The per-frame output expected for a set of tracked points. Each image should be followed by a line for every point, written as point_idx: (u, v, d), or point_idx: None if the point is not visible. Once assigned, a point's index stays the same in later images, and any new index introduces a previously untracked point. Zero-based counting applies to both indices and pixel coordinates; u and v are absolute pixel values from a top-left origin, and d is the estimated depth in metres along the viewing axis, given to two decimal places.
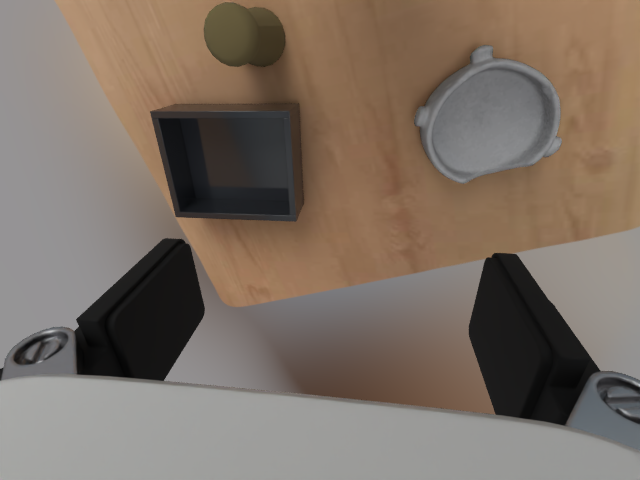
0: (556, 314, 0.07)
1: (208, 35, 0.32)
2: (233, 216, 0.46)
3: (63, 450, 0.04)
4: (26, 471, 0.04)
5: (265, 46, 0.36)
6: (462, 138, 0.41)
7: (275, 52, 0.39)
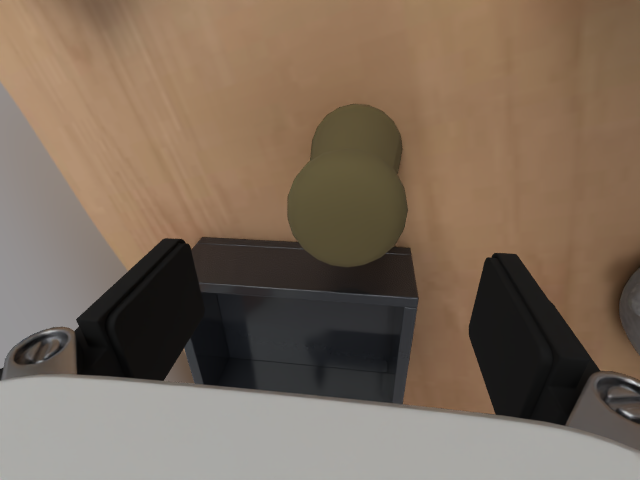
0: (556, 314, 0.07)
1: (300, 222, 0.14)
2: None
3: (63, 450, 0.04)
4: (26, 471, 0.04)
5: None
6: None
7: None
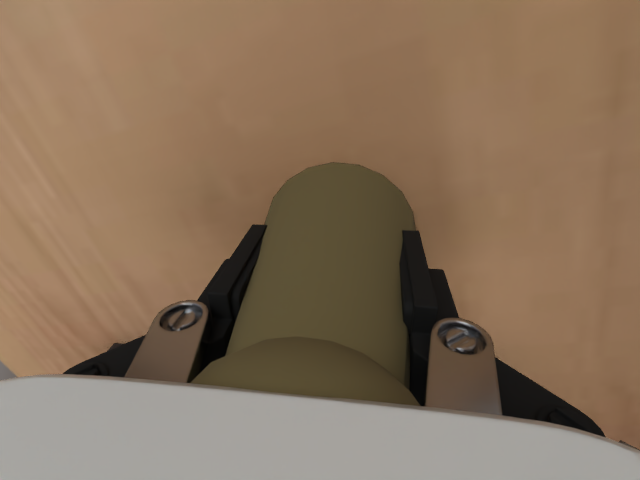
0: (428, 276, 0.09)
1: None
2: None
3: (63, 450, 0.04)
4: (26, 471, 0.04)
5: None
6: None
7: None
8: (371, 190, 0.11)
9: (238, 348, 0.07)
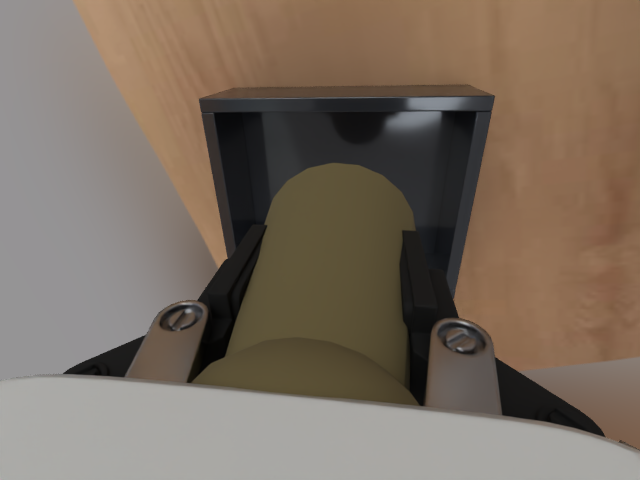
0: (428, 276, 0.09)
1: None
2: None
3: (63, 450, 0.04)
4: (26, 471, 0.04)
5: None
6: None
7: None
8: (371, 190, 0.11)
9: (238, 349, 0.07)
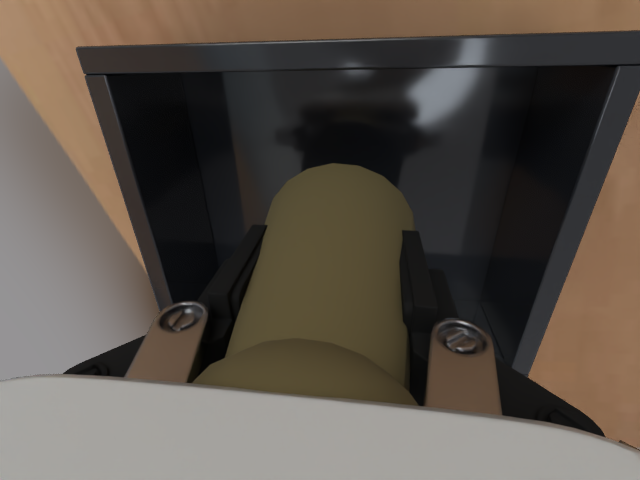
0: (428, 276, 0.09)
1: None
2: None
3: (63, 450, 0.04)
4: (26, 471, 0.04)
5: None
6: None
7: None
8: (371, 191, 0.11)
9: (238, 350, 0.07)
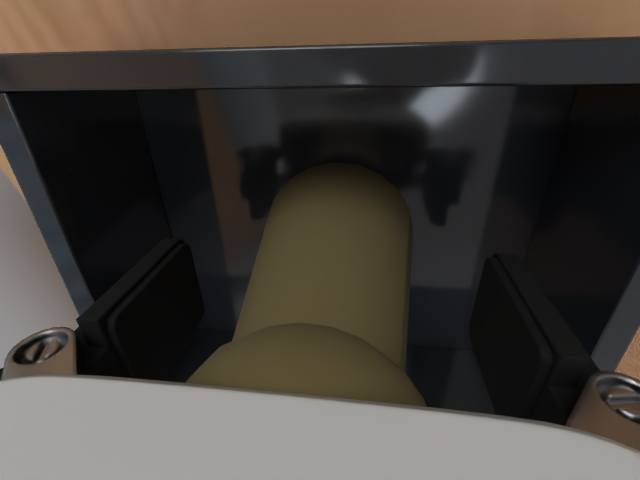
0: (556, 314, 0.07)
1: None
2: None
3: (63, 450, 0.04)
4: (26, 471, 0.04)
5: None
6: None
7: None
8: (369, 188, 0.12)
9: (244, 335, 0.07)
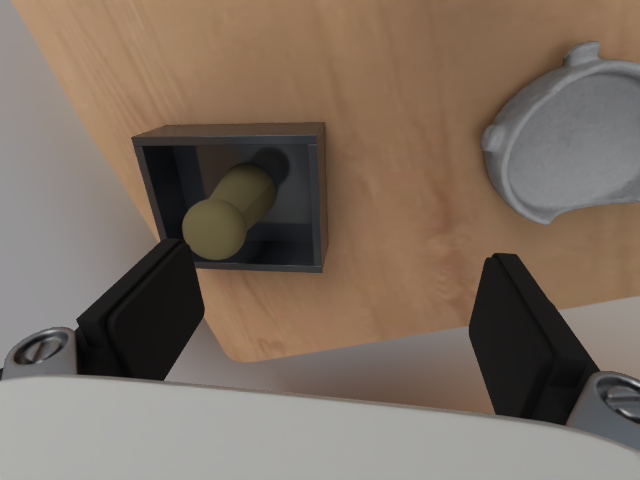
0: (556, 314, 0.07)
1: (186, 237, 0.28)
2: (241, 266, 0.36)
3: (63, 450, 0.04)
4: (26, 471, 0.04)
5: (253, 221, 0.32)
6: (542, 164, 0.31)
7: (265, 213, 0.36)
8: (252, 172, 0.35)
9: None
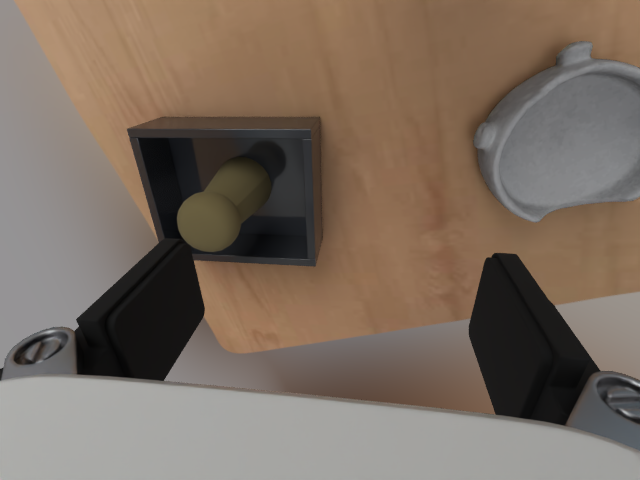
0: (556, 314, 0.07)
1: (181, 229, 0.28)
2: (236, 258, 0.36)
3: (63, 450, 0.04)
4: (26, 471, 0.04)
5: (248, 214, 0.33)
6: (534, 162, 0.32)
7: (260, 206, 0.36)
8: (247, 165, 0.35)
9: None
